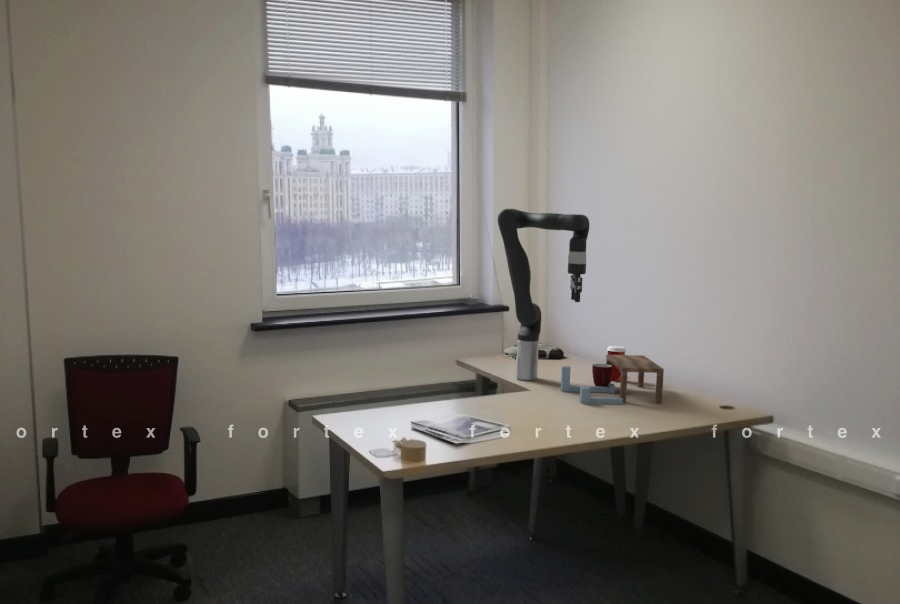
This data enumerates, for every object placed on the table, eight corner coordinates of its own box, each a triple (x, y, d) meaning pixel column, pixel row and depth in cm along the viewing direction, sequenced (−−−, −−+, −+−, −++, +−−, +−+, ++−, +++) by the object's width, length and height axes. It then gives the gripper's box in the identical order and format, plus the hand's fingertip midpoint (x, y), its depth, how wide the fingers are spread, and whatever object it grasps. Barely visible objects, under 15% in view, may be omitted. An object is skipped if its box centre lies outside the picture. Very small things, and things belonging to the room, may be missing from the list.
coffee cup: (626, 382, 342) (627, 348, 340) (607, 382, 342) (608, 348, 340) (622, 378, 350) (624, 345, 348) (603, 378, 350) (605, 345, 348)
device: (526, 349, 426) (526, 340, 426) (573, 354, 413) (573, 345, 412) (499, 357, 398) (499, 348, 398) (548, 364, 385) (549, 354, 384)
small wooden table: (620, 402, 304) (622, 368, 303) (604, 385, 334) (606, 354, 332) (661, 403, 304) (663, 369, 303) (642, 386, 334) (643, 355, 333)
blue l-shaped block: (581, 403, 300) (581, 388, 300) (579, 401, 303) (580, 386, 303) (622, 404, 300) (623, 389, 300) (621, 402, 304) (621, 387, 303)
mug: (615, 392, 322) (616, 368, 321) (596, 392, 321) (597, 368, 320) (607, 386, 332) (608, 363, 331) (589, 386, 331) (590, 363, 330)
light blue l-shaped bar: (561, 392, 320) (562, 367, 319) (560, 389, 325) (561, 365, 324) (614, 393, 320) (616, 369, 319) (612, 390, 325) (613, 367, 324)
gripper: (565, 261, 335) (563, 299, 337) (570, 263, 321) (569, 302, 323) (583, 261, 335) (581, 299, 337) (589, 263, 321) (587, 303, 323)
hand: (575, 300), depth 330 cm, fingers open, 8 cm apart
